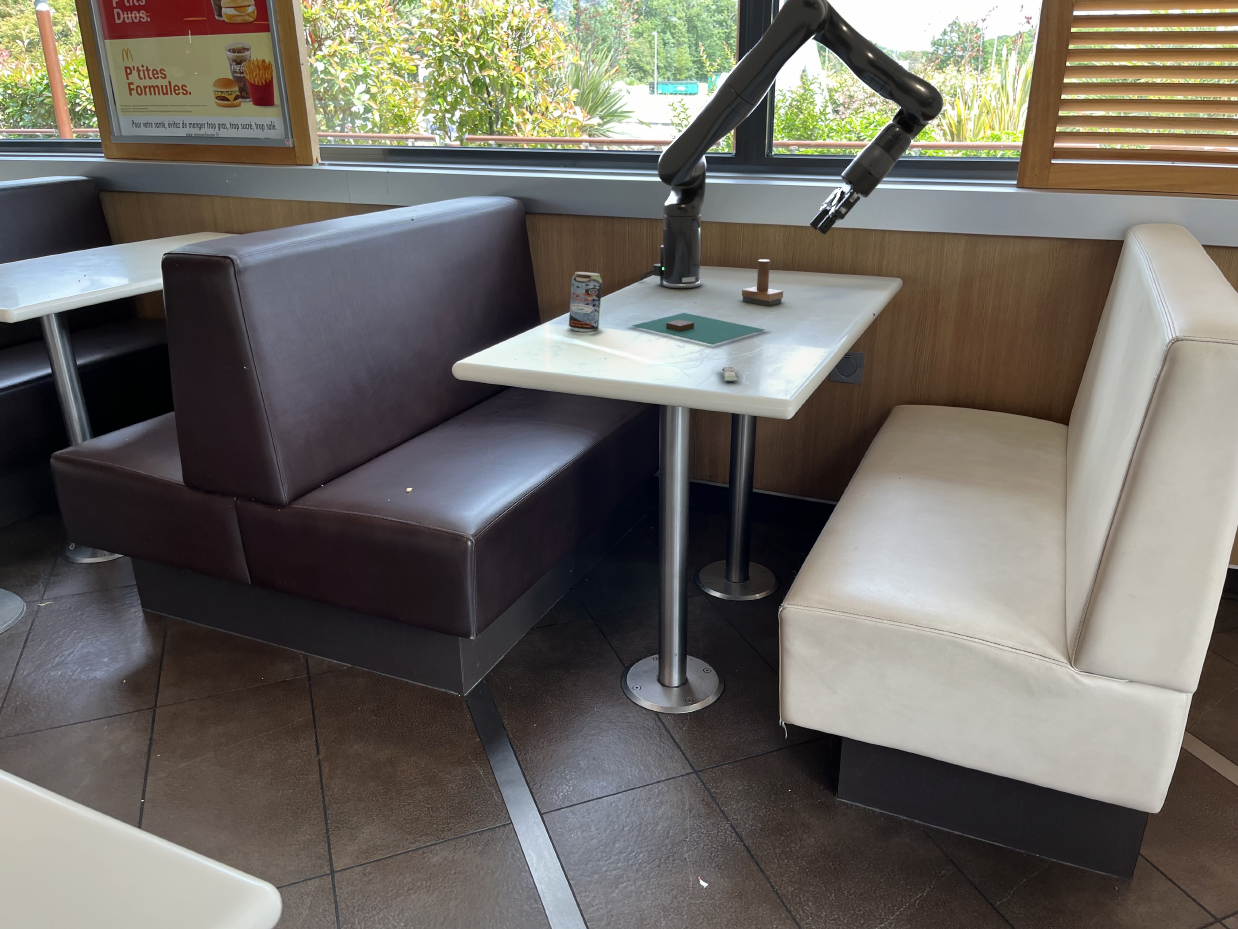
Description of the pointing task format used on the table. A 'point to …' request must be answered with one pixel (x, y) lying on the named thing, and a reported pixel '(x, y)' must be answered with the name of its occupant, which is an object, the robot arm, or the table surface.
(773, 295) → the brush
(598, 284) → the beverage can
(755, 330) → the mat
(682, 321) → the brown square block
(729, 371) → the granola bar
